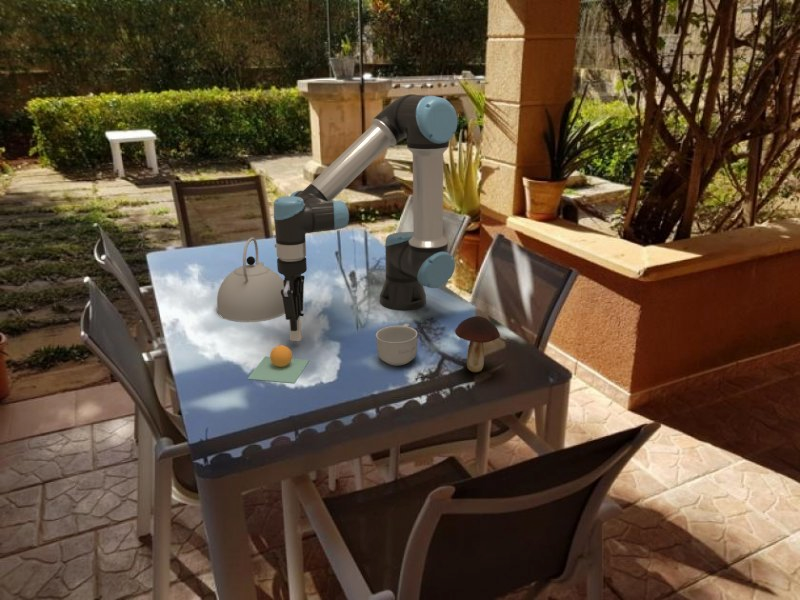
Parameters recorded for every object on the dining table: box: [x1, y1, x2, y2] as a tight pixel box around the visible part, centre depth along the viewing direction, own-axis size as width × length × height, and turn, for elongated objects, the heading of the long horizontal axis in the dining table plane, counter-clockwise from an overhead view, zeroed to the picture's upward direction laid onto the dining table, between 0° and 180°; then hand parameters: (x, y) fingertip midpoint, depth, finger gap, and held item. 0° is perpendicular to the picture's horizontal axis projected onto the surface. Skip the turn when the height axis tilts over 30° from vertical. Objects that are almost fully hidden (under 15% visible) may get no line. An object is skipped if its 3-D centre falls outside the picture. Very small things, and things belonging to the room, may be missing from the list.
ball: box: [269, 344, 293, 367], centre depth 151 cm, size 6×6×6 cm
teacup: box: [375, 323, 418, 367], centre depth 155 cm, size 14×11×8 cm
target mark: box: [247, 356, 310, 384], centre depth 150 cm, size 12×12×1 cm
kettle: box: [216, 236, 285, 323], centre depth 185 cm, size 25×23×22 cm
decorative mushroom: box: [454, 315, 501, 373], centre depth 148 cm, size 11×11×15 cm
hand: (296, 339), depth 162 cm, fingers closed
